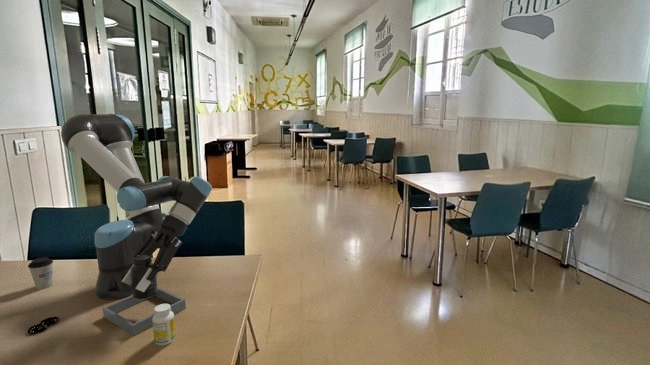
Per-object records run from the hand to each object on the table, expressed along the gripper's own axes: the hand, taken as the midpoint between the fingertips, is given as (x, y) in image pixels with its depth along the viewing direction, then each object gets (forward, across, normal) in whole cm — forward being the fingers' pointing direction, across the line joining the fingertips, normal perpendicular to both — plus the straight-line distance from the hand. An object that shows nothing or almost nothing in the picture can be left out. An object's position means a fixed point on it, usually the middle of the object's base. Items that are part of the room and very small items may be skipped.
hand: (132, 286), depth 102 cm
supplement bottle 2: (+8, -17, -6) cm, 20 cm away
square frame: (+5, +1, -10) cm, 11 cm away
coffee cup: (+13, +48, -4) cm, 50 cm away
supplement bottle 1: (+1, 0, -6) cm, 6 cm away
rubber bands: (+20, +19, +4) cm, 27 cm away
